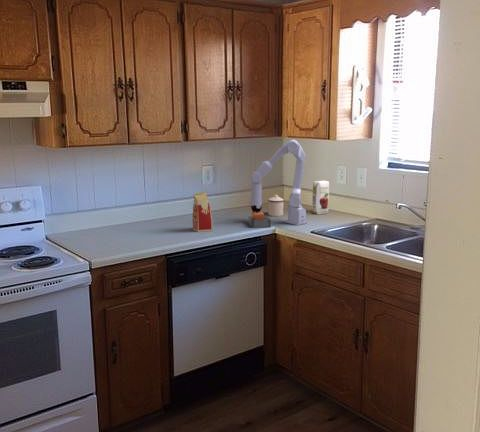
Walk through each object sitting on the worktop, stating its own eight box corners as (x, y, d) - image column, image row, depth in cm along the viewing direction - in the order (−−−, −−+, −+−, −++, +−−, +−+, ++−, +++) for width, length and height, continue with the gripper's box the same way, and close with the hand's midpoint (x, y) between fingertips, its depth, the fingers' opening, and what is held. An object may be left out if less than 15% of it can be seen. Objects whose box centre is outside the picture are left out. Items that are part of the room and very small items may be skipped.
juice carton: (310, 212, 312) (311, 180, 308) (322, 211, 316) (323, 180, 312) (317, 215, 306) (318, 182, 302) (329, 213, 309) (331, 181, 305)
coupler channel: (270, 227, 274) (270, 219, 273) (251, 227, 272) (251, 220, 272) (266, 223, 283) (266, 215, 282) (248, 223, 282) (248, 216, 281)
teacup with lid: (286, 215, 304) (287, 195, 302) (273, 217, 300) (273, 196, 298) (275, 211, 315) (275, 192, 312) (262, 213, 310) (262, 193, 308)
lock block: (264, 225, 278) (264, 213, 277) (254, 225, 277) (254, 214, 276) (261, 222, 286) (261, 210, 284) (252, 222, 285) (252, 211, 284)
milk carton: (207, 227, 274) (207, 188, 270) (213, 230, 265) (213, 191, 261) (190, 228, 271) (189, 189, 267) (195, 232, 262) (195, 192, 258)
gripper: (246, 192, 291) (246, 216, 293) (251, 196, 276) (250, 222, 279) (259, 192, 292) (259, 216, 294) (264, 196, 277) (264, 221, 280)
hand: (256, 219), depth 287 cm, fingers closed
